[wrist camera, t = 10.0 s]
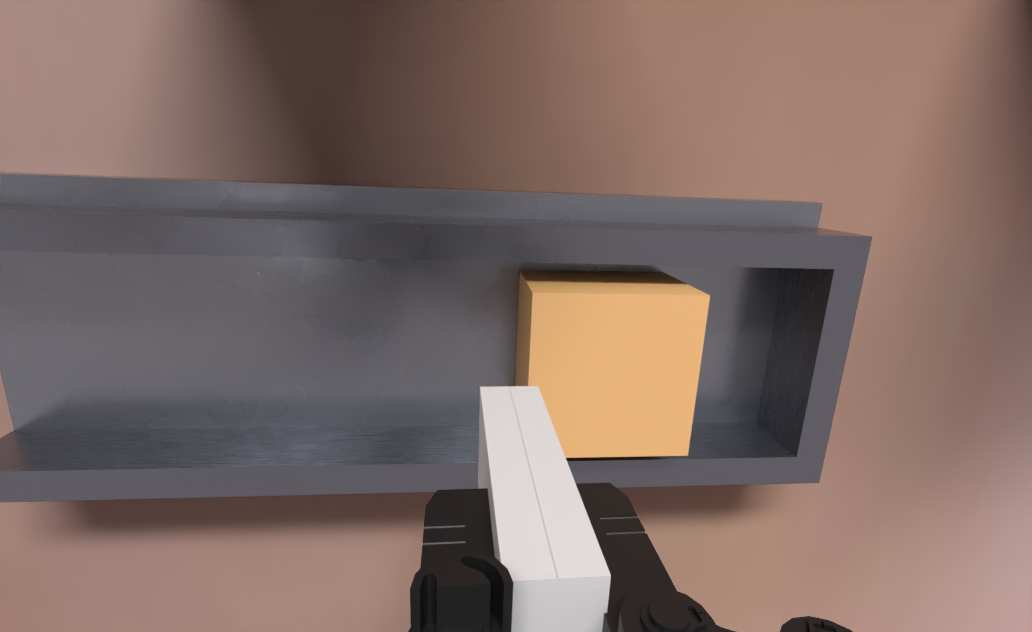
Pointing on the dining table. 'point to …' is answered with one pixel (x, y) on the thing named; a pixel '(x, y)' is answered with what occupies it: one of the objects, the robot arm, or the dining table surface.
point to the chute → (377, 332)
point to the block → (612, 358)
